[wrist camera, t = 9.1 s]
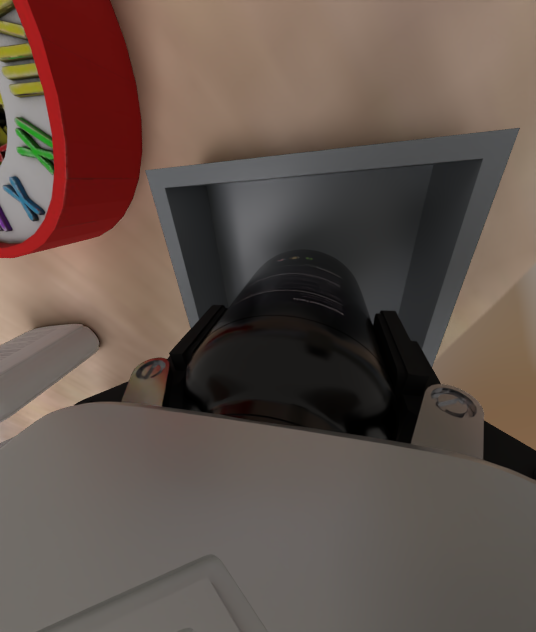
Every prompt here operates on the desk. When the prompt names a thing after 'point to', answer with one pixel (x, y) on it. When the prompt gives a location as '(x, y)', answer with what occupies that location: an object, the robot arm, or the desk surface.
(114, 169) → the toy clock
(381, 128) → the desk surface
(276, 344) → the supplement bottle
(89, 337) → the photo printer
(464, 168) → the box
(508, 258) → the desk surface
